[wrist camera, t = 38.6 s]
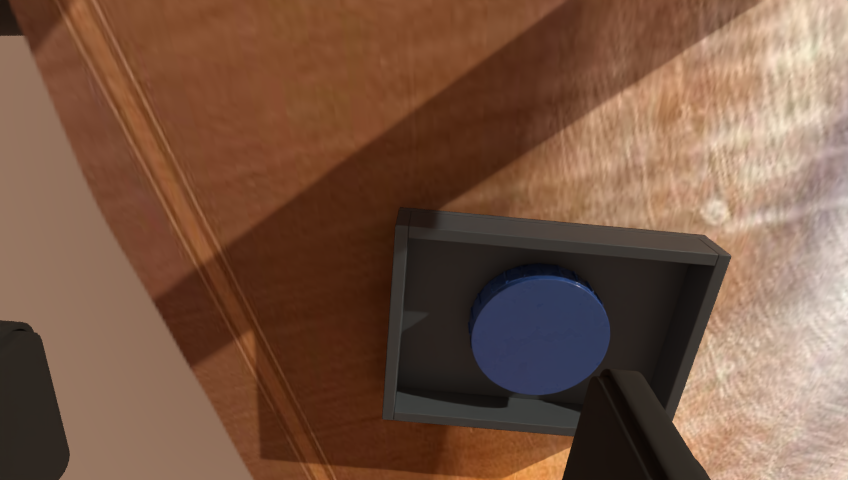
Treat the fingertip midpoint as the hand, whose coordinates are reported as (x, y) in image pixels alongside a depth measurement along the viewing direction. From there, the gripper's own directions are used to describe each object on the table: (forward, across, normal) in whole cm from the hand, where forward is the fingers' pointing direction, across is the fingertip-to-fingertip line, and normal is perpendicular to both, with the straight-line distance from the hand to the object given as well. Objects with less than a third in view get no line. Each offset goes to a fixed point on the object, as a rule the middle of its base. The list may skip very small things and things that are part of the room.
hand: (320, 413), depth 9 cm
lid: (+14, -8, +7) cm, 18 cm away
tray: (+16, -8, +8) cm, 20 cm away
